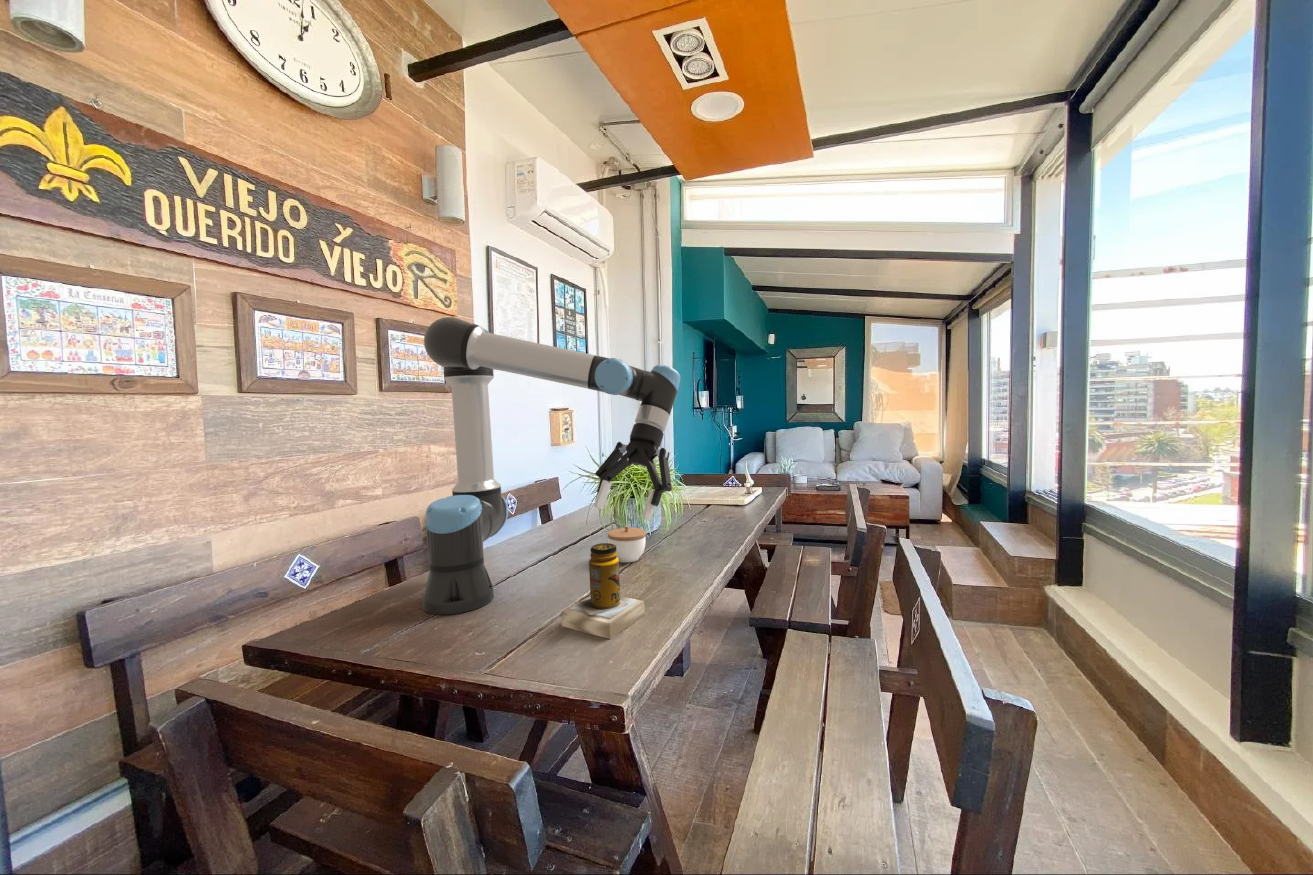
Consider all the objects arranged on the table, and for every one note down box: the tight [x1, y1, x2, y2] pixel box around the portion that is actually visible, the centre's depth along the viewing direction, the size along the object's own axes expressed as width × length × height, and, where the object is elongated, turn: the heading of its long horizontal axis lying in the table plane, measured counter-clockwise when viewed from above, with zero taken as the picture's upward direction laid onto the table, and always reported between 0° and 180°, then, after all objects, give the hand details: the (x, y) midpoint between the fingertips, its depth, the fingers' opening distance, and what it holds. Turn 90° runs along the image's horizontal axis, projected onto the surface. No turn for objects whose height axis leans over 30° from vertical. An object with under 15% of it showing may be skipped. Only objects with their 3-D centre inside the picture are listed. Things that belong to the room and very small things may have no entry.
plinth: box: [560, 595, 646, 640], centre depth 104 cm, size 12×12×3 cm
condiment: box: [574, 542, 628, 615], centre depth 104 cm, size 7×8×12 cm
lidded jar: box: [607, 525, 647, 564], centre depth 145 cm, size 11×11×9 cm
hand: (621, 513), depth 117 cm, fingers open, 13 cm apart
